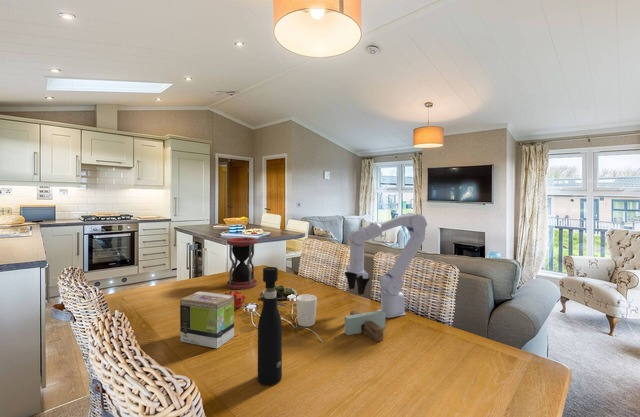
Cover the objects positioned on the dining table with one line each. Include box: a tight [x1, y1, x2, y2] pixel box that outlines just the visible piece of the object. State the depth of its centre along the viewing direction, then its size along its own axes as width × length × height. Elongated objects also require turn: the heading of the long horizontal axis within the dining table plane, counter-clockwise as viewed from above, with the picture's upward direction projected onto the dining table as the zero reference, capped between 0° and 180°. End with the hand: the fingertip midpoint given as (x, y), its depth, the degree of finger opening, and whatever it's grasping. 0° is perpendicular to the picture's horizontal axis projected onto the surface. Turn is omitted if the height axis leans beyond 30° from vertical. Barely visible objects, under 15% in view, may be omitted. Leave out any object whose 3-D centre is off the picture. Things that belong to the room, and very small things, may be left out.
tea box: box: [179, 290, 235, 349], centre depth 105 cm, size 15×10×15 cm, turn 71°
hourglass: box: [226, 237, 258, 290], centre depth 167 cm, size 16×16×25 cm
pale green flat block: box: [344, 309, 387, 336], centre depth 113 cm, size 16×2×6 cm, turn 113°
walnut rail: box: [349, 310, 384, 343], centre depth 113 cm, size 3×18×4 cm, turn 23°
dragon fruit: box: [224, 289, 246, 311], centre depth 133 cm, size 8×8×12 cm
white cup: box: [296, 293, 318, 327], centre depth 119 cm, size 8×8×10 cm
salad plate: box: [260, 284, 298, 302], centre depth 153 cm, size 19×18×5 cm
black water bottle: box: [257, 266, 283, 387], centre depth 82 cm, size 6×6×30 cm
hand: (356, 291), depth 127 cm, fingers open, 7 cm apart
